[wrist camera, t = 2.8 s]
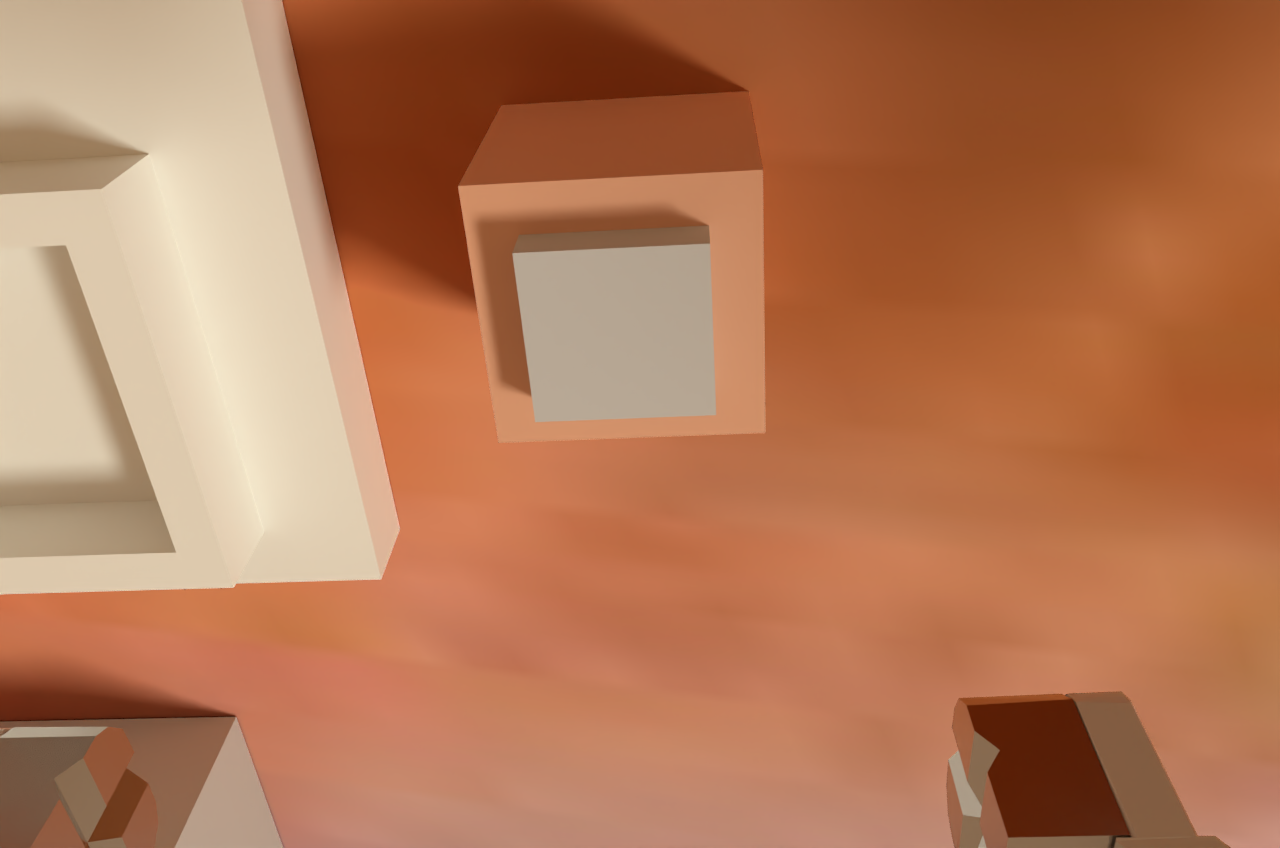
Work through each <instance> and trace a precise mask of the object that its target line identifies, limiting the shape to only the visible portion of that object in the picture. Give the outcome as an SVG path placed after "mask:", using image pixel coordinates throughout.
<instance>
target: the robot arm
mask: <svg viewBox="0 0 1280 848" xmlns="http://www.w3.org/2000/svg"><path fill="white" fill-rule="evenodd" d="M952 729H953V732H954V736H955V739H956V743H957V747H958V751H957V752H956V753H955V754H954V755H953V756H952V757H951V758H950V759H949V760H948V770H947V783H946V788H947V807H948V817H949V823H950V829H951V834H952V839H953V843H954V847H955V848H1230V847H1229V846H1228V845H1226V844H1225V843H1224V842H1222V841H1221V840H1220V839H1218V838H1217V837H1216V836H1198V835H1197V833H1196V831H1195V829H1194V827H1193V825H1192V823H1191V821H1190V819H1189V817H1188V815H1187V813H1186V811H1185V809H1184V807H1183V805H1182V803H1181V801H1180V799H1179V797H1178V795H1177V793H1176V791H1175V789H1174V787H1173V785H1172V783H1171V781H1170V779H1169V777H1168V775H1167V773H1166V771H1165V769H1164V767H1163V765H1162V763H1161V761H1160V759H1159V757H1158V754H1157V752H1156V750H1155V748H1154V746H1153V744H1152V742H1151V740H1150V738H1149V736H1148V734H1147V732H1146V730H1145V728H1144V726H1143V724H1142V722H1141V720H1140V718H1139V716H1138V714H1137V712H1136V710H1135V708H1134V706H1133V704H1132V702H1131V700H1130V699H1129V698H1128V697H1127V696H1126V695H1124V694H1123V693H1122V692H1097V693H1072V694H1066V695H1063V694H1044V695H1020V696H997V697H974V698H959V699H958V701H957V703H956V706H955V708H954V716H953V723H952ZM133 754H134V750H133V748H132V746H131V744H130V742H129V740H128V738H127V736H126V734H125V732H124V731H123V729H120V728H114V727H14V728H0V848H154V847H155V841H156V835H157V829H158V815H157V807H156V800H155V798H154V795H153V793H152V791H151V788H150V786H149V784H148V783H147V782H146V781H144V780H143V779H142V778H140V777H139V776H137V775H136V774H134V773H133V772H132V771H130V770H129V769H127V766H128V764H129V762H130V760H131V758H132V756H133Z"/></svg>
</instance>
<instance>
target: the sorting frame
mask: <svg viewBox="0 0 1280 848" xmlns="http://www.w3.org/2000/svg"><path fill="white" fill-rule="evenodd" d="M14 727H114V728H120V729H123V731H124V732H125V734H126V736H127V738H128V740H129V742H130V744H131V746H132V748H133V750H134V754H133V756H132V758H131V760H130V762H129V764H128V766H127V769H129V770H130V771H132V772H133V773H134V774H136V775H137V776H139V777H140V778H142V779H143V780H144V781H146V782H147V783H148V784H149V786H150V788H151V791H152V793H153V795H154V798H155V800H156V807H157V815H158V829H157V835H156V841H155V847H154V848H283V846H282V843H281V840H280V837H279V835H278V832H277V829H276V826H275V823H274V821H273V818H272V815H271V812H270V810H269V807H268V804H267V801H266V798H265V796H264V793H263V790H262V787H261V784H260V782H259V779H258V776H257V773H256V770H255V768H254V765H253V762H252V759H251V757H250V754H249V751H248V748H247V745H246V743H245V740H244V737H243V734H242V731H241V729H240V726H239V723H238V720H237V717H198V718H150V719H101V720H53V721H5V722H0V728H14Z"/></svg>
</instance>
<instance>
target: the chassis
mask: <svg viewBox="0 0 1280 848" xmlns="http://www.w3.org/2000/svg"><path fill="white" fill-rule="evenodd" d="M399 530H400V526H399V522H398V517H397V513H396V509H395V504H394V500H393V495H392V491H391V486H390V482H389V477H388V473H387V468H386V464H385V459H384V455H383V450H382V446H381V441H380V437H379V432H378V428H377V423H376V419H375V414H374V410H373V406H372V401H371V397H370V392H369V388H368V383H367V379H366V374H365V370H364V365H363V361H362V356H361V352H360V347H359V343H358V338H357V334H356V329H355V325H354V320H353V316H352V312H351V307H350V303H349V298H348V294H347V289H346V285H345V280H344V276H343V271H342V267H341V262H340V258H339V253H338V249H337V244H336V240H335V235H334V231H333V226H332V222H331V217H330V213H329V209H328V204H327V200H326V195H325V191H324V186H323V182H322V177H321V173H320V168H319V164H318V159H317V155H316V150H315V146H314V141H313V137H312V132H311V128H310V123H309V119H308V114H307V110H306V106H305V101H304V97H303V92H302V88H301V83H300V79H299V74H298V70H297V65H296V61H295V56H294V52H293V47H292V43H291V38H290V34H289V29H288V25H287V20H286V16H285V11H284V7H283V3H282V0H0V594H27V593H62V592H97V591H132V590H167V589H201V588H234V586H235V584H236V583H271V582H305V581H340V580H374V579H382V576H383V573H384V571H385V568H386V565H387V563H388V560H389V557H390V555H391V552H392V549H393V547H394V544H395V541H396V539H397V536H398V533H399Z"/></svg>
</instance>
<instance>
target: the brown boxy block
mask: <svg viewBox="0 0 1280 848" xmlns="http://www.w3.org/2000/svg"><path fill="white" fill-rule="evenodd" d="M458 190H459V196H460V202H461V209H462V215H463V221H464V228H465V234H466V240H467V247H468V253H469V259H470V266H471V272H472V279H473V285H474V291H475V298H476V304H477V310H478V317H479V323H480V329H481V336H482V342H483V348H484V355H485V361H486V367H487V374H488V380H489V386H490V393H491V399H492V405H493V412H494V418H495V425H496V431H497V437H498V443H508V442H535V441H562V440H589V439H615V438H642V437H669V436H696V435H723V434H749V433H765V328H764V222H763V167H762V162H761V156H760V151H759V145H758V140H757V134H756V129H755V123H754V118H753V112H752V107H751V101H750V96H749V91H738V92H720V93H703V94H686V95H669V96H651V97H634V98H617V99H599V100H582V101H565V102H548V103H530V104H513V105H501V107H500V109H499V110H498V112H497V114H496V116H495V118H494V120H493V122H492V123H491V125H490V127H489V129H488V131H487V133H486V135H485V137H484V138H483V140H482V142H481V144H480V146H479V148H478V150H477V151H476V153H475V155H474V157H473V159H472V161H471V163H470V164H469V166H468V168H467V170H466V172H465V174H464V176H463V177H462V179H461V181H460V183H459V185H458Z"/></svg>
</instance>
